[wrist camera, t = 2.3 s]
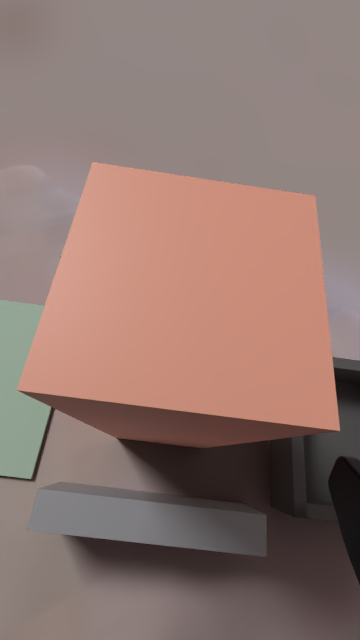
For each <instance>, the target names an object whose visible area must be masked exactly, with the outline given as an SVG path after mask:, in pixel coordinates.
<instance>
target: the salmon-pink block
mask: <svg viewBox="0 0 360 640" xmlns="http://www.w3.org/2000/svg"><path fill="white" fill-rule="evenodd" d="M17 391H19V392H21V393H23V394H25V395H27V396H30V397H32V398H34V399H36V400H38V401H40V402H42V403H44V404H46V405H48V406H51V407H53V408H55V409H57V410H59V411H61V412H63V413H65V414H67V415H69V416H71V417H74V418H76V419H78V420H80V421H82V422H84V423H86V424H88V425H90V426H92V427H95V428H97V429H99V430H101V431H103V432H105V433H107V434H109V435H111V436H113V437H116V438H121V439H129V440H137V441H145V442H154V443H162V444H170V445H178V446H186V447H195V448H210V447H218V446H226V445H234V444H242V443H250V442H258V441H265V440H273V439H281V438H289V437H297V436H305V435H313V434H320V433H328V432H336V431H340V425H339V415H338V406H337V396H336V387H335V377H334V368H333V358H332V349H331V340H330V330H329V321H328V311H327V302H326V292H325V283H324V273H323V265H322V255H321V245H320V235H319V226H318V216H317V207H316V198H315V196H313V195H307V194H299V193H293V192H287V191H280V190H274V189H266V188H260V187H254V186H247V185H240V184H234V183H227V182H221V181H214V180H207V179H200V178H194V177H188V176H181V175H174V174H168V173H161V172H154V171H147V170H141V169H135V168H128V167H121V166H114V165H108V164H101V163H94V162H93V163H92V166H91V169H90V172H89V175H88V178H87V181H86V184H85V187H84V190H83V193H82V196H81V199H80V202H79V205H78V208H77V211H76V214H75V217H74V220H73V223H72V226H71V229H70V232H69V235H68V238H67V241H66V244H65V247H64V250H63V253H62V256H61V259H60V262H59V264H58V267H57V270H56V273H55V276H54V279H53V282H52V285H51V288H50V291H49V294H48V297H47V300H46V303H45V306H44V309H43V312H42V315H41V318H40V321H39V324H38V327H37V330H36V333H35V336H34V339H33V342H32V345H31V348H30V351H29V354H28V357H27V360H26V363H25V366H24V369H23V372H22V375H21V378H20V381H19V384H18V387H17Z"/></svg>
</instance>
